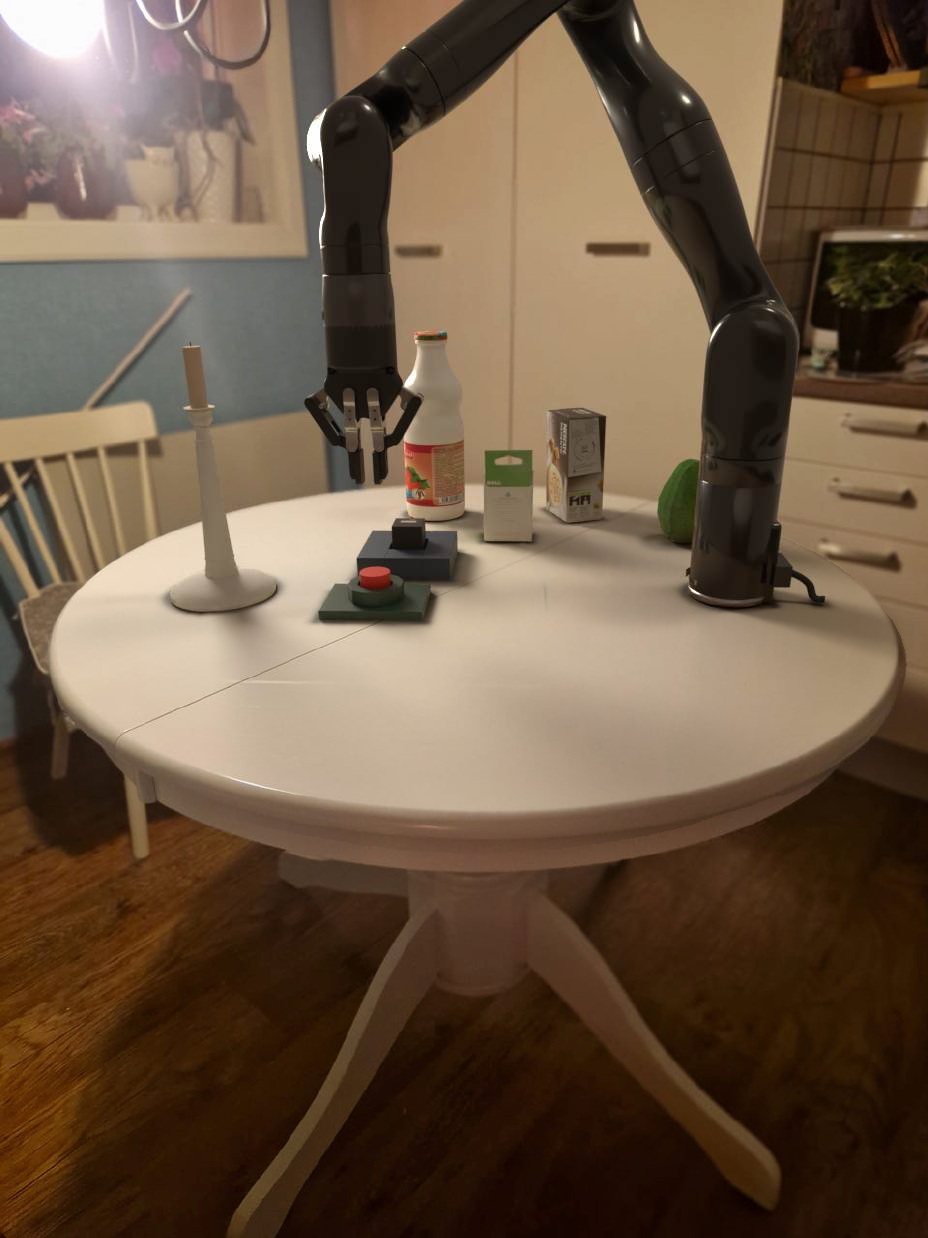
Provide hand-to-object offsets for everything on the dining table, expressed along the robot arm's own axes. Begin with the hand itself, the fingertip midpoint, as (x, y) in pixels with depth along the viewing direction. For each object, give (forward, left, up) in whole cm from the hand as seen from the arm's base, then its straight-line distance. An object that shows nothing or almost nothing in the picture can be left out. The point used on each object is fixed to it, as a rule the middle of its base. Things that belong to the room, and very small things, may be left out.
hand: (369, 482), depth 97 cm
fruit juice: (-3, -40, -15) cm, 43 cm away
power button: (0, 0, -12) cm, 12 cm away
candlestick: (+20, -4, -15) cm, 25 cm away
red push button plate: (0, 0, -15) cm, 15 cm away
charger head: (-2, -15, -15) cm, 21 cm away
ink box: (-15, -27, -15) cm, 34 cm away
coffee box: (-25, -40, -15) cm, 50 cm away
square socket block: (-2, -15, -15) cm, 21 cm away
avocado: (-40, -26, -15) cm, 50 cm away
